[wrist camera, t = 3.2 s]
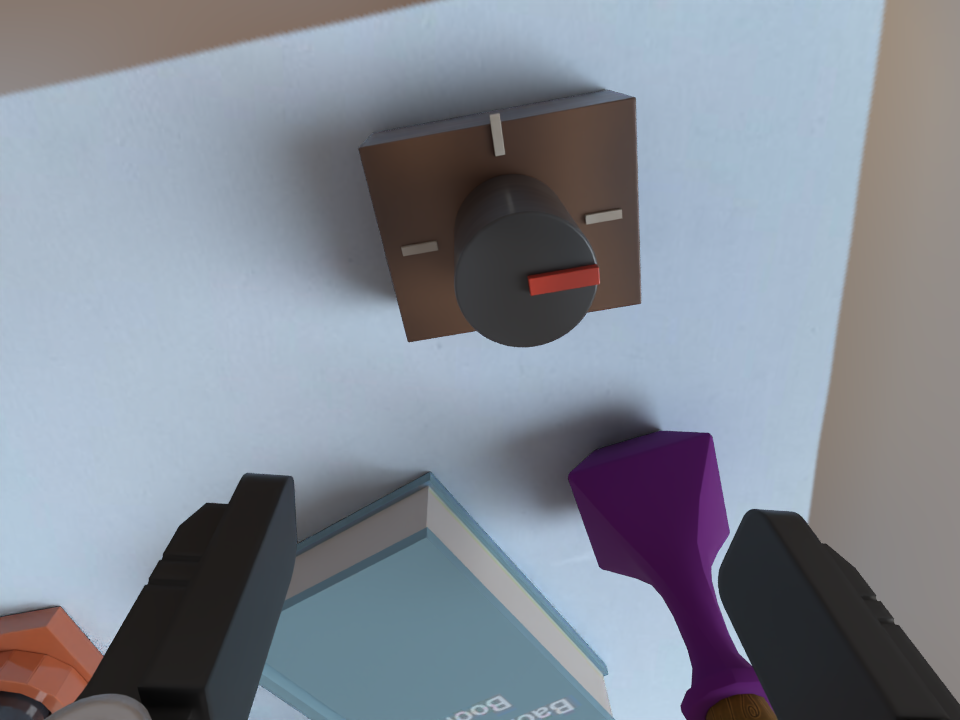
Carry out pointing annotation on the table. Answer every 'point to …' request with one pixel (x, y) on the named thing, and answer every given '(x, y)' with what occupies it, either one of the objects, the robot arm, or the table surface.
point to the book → (424, 624)
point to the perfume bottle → (672, 553)
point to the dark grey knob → (21, 707)
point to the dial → (521, 263)
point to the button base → (45, 657)
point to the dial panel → (494, 152)
